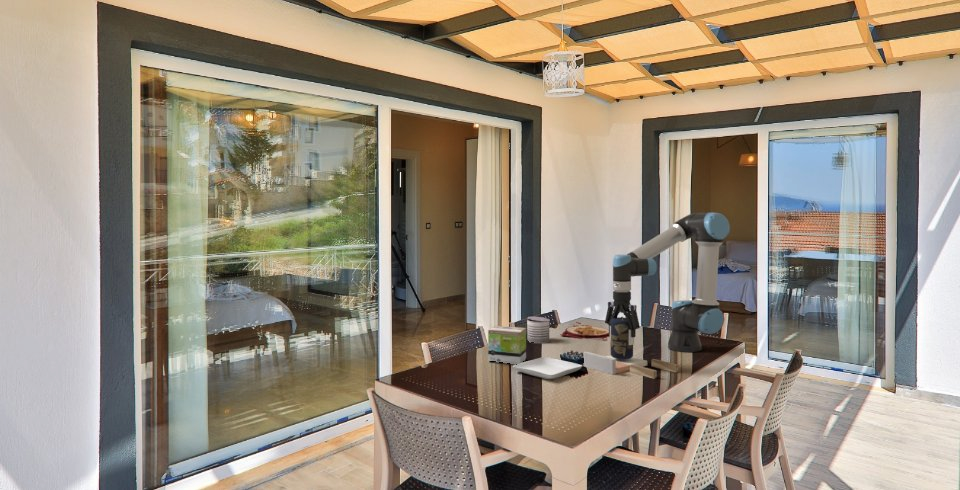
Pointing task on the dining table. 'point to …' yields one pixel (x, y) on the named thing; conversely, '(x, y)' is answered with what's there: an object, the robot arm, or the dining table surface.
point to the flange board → (610, 363)
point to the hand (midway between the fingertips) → (621, 342)
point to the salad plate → (547, 367)
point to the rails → (653, 373)
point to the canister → (620, 339)
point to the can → (538, 329)
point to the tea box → (507, 344)
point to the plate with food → (586, 332)
